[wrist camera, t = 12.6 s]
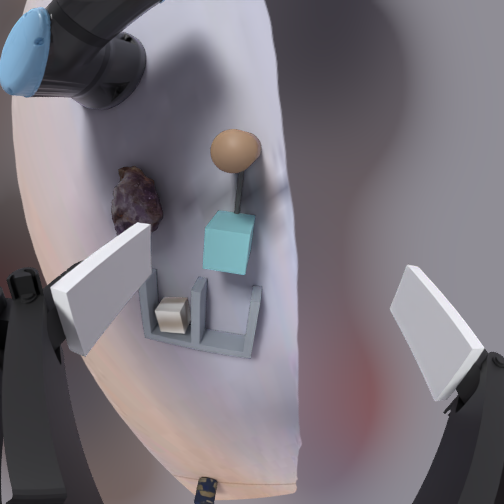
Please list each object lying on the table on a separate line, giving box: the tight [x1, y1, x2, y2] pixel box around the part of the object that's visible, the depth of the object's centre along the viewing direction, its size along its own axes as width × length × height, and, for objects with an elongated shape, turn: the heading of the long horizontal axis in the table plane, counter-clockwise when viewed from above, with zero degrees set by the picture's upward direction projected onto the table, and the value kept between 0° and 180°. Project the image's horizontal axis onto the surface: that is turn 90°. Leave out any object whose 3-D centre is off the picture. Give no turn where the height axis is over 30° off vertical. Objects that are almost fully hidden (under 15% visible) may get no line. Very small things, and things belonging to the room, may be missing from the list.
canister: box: [194, 478, 217, 504], centre depth 89 cm, size 10×10×18 cm
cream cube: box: [155, 297, 191, 334], centre depth 50 cm, size 5×5×5 cm
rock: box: [111, 166, 163, 236], centre depth 40 cm, size 12×9×10 cm
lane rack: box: [139, 269, 262, 359], centre depth 49 cm, size 14×22×5 cm, turn 83°
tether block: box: [203, 129, 261, 275], centre depth 37 cm, size 19×6×12 cm, turn 173°
